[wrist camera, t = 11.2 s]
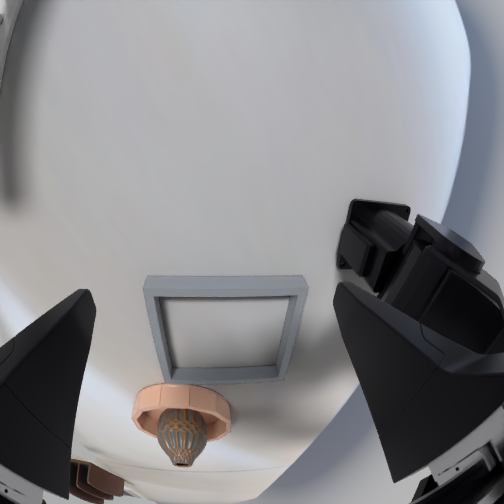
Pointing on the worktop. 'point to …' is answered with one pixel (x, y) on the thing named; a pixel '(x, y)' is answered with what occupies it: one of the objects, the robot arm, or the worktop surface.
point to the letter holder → (93, 482)
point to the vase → (182, 435)
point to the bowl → (184, 397)
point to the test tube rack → (7, 27)
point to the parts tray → (225, 288)
